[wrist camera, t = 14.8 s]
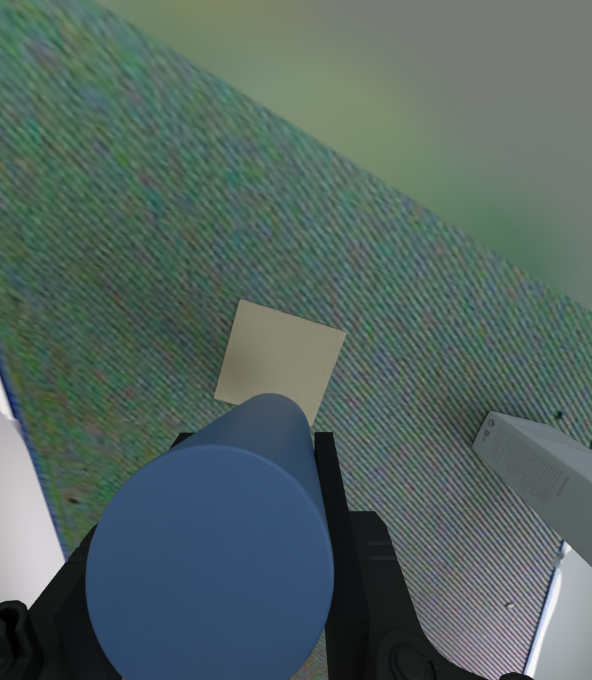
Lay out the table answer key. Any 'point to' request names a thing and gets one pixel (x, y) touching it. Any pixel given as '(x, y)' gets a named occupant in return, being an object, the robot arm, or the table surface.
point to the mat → (278, 357)
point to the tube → (216, 554)
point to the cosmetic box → (543, 473)
